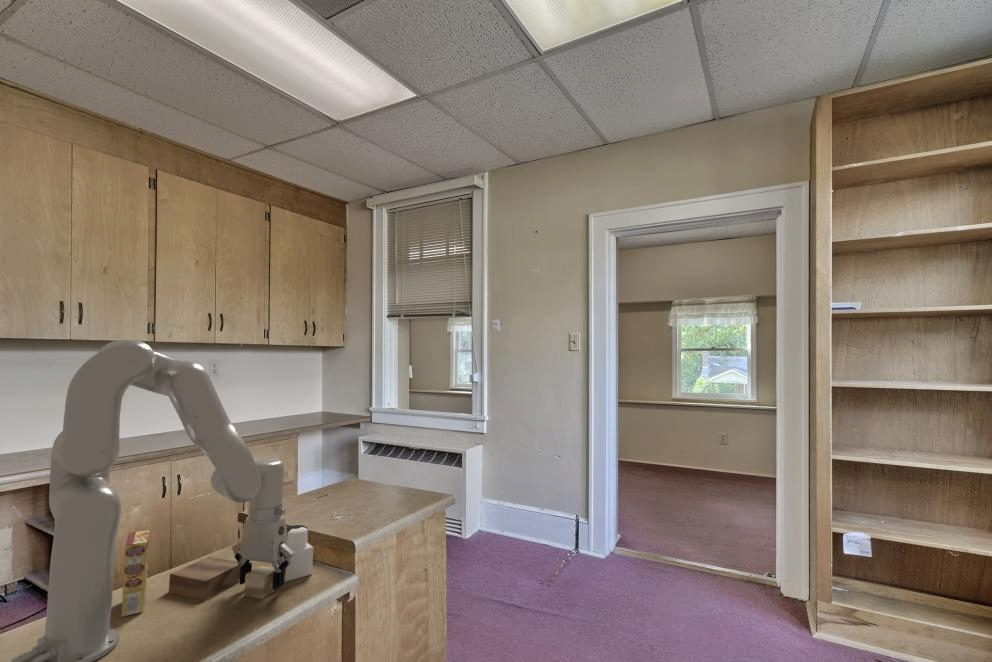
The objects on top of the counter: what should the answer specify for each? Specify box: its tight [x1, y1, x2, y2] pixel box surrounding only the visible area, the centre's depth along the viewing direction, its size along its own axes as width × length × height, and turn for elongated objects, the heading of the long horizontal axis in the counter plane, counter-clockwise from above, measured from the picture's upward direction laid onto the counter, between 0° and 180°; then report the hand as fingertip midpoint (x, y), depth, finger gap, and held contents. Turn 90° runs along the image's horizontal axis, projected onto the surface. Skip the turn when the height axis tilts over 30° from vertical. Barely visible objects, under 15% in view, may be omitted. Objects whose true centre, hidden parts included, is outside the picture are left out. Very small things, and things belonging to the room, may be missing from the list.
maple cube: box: [243, 565, 276, 600], centre depth 117 cm, size 5×5×5 cm
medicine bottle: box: [277, 524, 314, 583], centre depth 128 cm, size 7×7×12 cm
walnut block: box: [168, 556, 240, 600], centre depth 120 cm, size 11×11×4 cm
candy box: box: [120, 530, 150, 617], centre depth 109 cm, size 9×4×15 cm, turn 33°
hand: (261, 584), depth 117 cm, fingers open, 8 cm apart
